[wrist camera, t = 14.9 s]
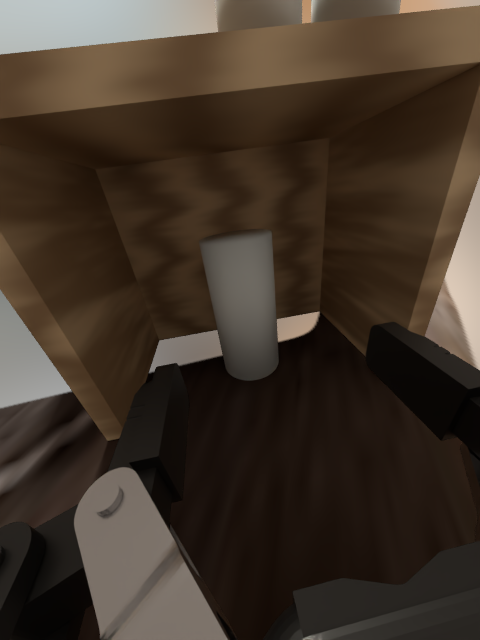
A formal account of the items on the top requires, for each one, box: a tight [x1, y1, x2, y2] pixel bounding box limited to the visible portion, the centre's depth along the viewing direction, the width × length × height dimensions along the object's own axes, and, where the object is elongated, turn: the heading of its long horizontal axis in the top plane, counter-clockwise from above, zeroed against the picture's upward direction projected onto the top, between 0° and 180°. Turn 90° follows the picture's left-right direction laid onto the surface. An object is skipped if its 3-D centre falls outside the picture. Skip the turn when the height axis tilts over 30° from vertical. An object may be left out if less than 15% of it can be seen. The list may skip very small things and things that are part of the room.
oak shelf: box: [0, 0, 480, 441], centre depth 17 cm, size 24×14×26 cm, turn 98°
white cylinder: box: [199, 229, 279, 381], centre depth 19 cm, size 5×5×12 cm
